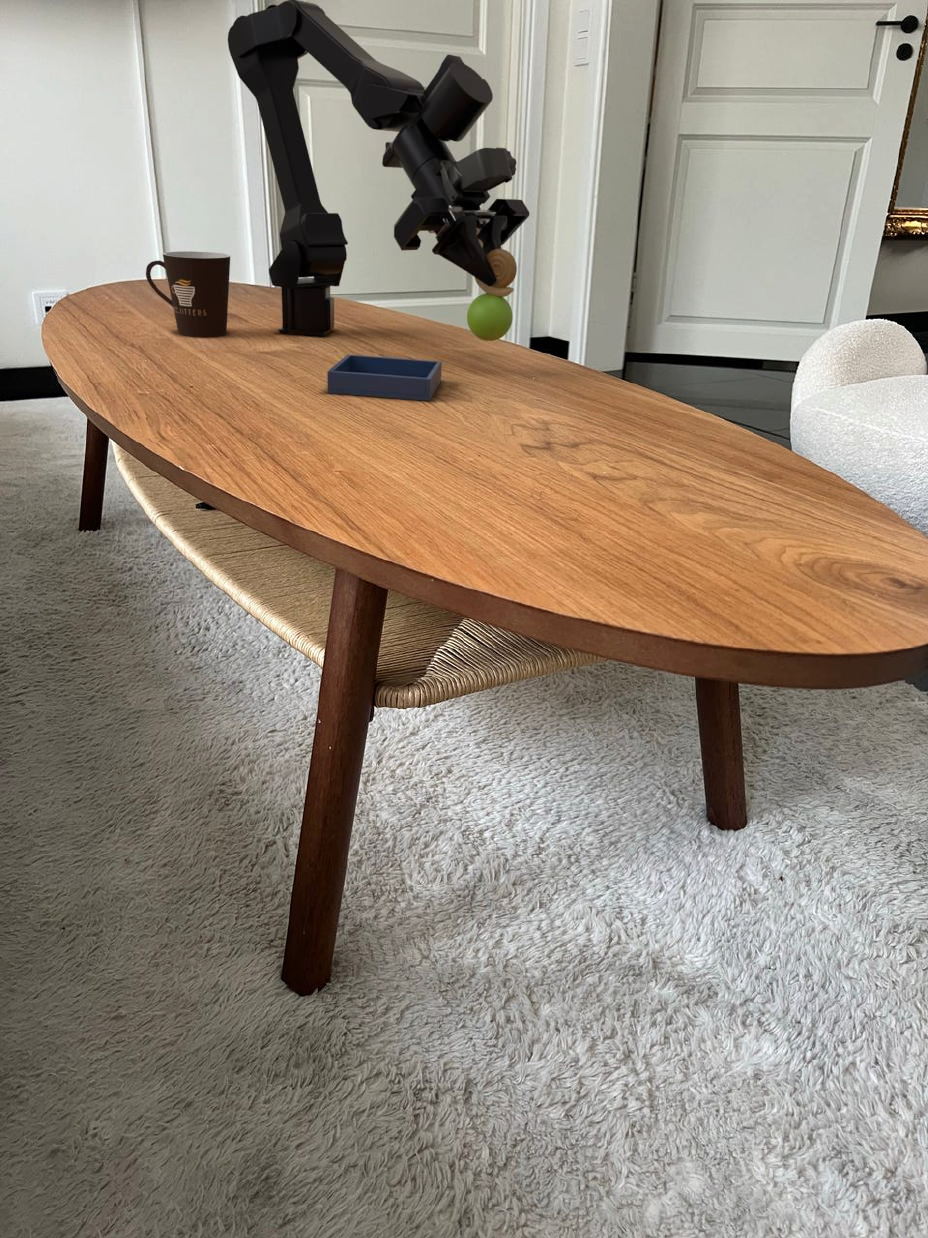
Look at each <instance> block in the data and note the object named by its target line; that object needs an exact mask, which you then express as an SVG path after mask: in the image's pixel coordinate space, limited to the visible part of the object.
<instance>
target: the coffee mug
mask: <svg viewBox="0 0 928 1238" xmlns="http://www.w3.org/2000/svg"><path fill="white" fill-rule="evenodd" d="M162 258H163V261H162V260H152V261H151V262H149V263H148V264H147V265H146V269H145V276H146V280H147V283H148V284H149V286H150V287H151V289H152V290H153V291H154V292H155V293H156V295H158V296H159V297H160V298H161V299H162V300H163V301H165V302H166V303H167V304H168V305H169V306H171V307H172V308H173V314H174V319H175V323H176V328H177V329H176V330H177V334H179V335H181V336H185V337H193V338H194V337H195V338H213V337H214V338H215V337H222V336H225V335H227V332H228V331H227V330H228V329H227V328H228V311H229V292H230V291H229V289H230V273H231V255H230V254H227V253H221V252H214V251H213V252H212V251H211V252H210V251H196V250H195V251H193V250H191V251H190V250H189V251H187V250H183V251H181V250H180V251H178V250H177V251H166V252H163V253H162ZM155 266H161V267H162V268H164V269H165V273H166V277H167V283H168V288H169V293H170V297H168V296H167V295H166V294H165V293H164V292H162V291H161V290H160V289H159V288H158V287H157V285H156V284H155V283H154V281H153V280H152V275H151V272H152V269H153V268H154V267H155Z"/></svg>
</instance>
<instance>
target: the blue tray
mask: <svg viewBox="0 0 928 1238" xmlns="http://www.w3.org/2000/svg"><path fill="white" fill-rule="evenodd" d="M442 365H443V363H442V361H437V360H428V359H427V360H426V359H425V360H424V359H413V358H402V357H401V358H399V357H388V356H387V357H385V356H376V355H375V356H373V355H362V354H361V355H360V354H349V353H348V354H347V355H344V357H343V358H341V359H340V360H339V361H338V362H336V364H334V365H333V366H331V368H330V369H328V371H327V375H326V376H327V379H326V380H327V393H328V394H334V395H345V396H346V395H348V396H349V395H350V396H360V397H371V398H372V397H373V398H384V399H385V398H386V399H396V400H397V399H398V400H407V401H408V400H410V401H422V402H430V401H431V400H432V398H433V396H434V394H435V393H436V391H437V389H438V388H439V386H440V384H441V382H442V368H443V367H442Z"/></svg>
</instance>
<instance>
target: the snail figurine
mask: <svg viewBox="0 0 928 1238" xmlns="http://www.w3.org/2000/svg"><path fill="white" fill-rule="evenodd" d="M479 231H480V230H479V228H477V233H479ZM477 233H476V234H477ZM478 241H479V243H480V245H481V247H482V249H483V243H482V241H481V240H480V239H478ZM486 257H487V259H488V261H489V263H490V266H491V268H492V270H493V272H494V275H495V277H496V283H495V284H494V285H493V286H488V285H486V284H485V283H483V282H481V281H480V280H478V279H477V278H475V277H474V280H475V283H476V284H477V286H478V287H479V288H480V289H481V290H482V291H483V292H484V293H482V294H480V295H478V296H477V297H475V298H474V299H473V300H472V301H471V303H470V305H469V306H468V309H467V314H466V321H467V325H468V328H469V330H470V331H471V333H472V334H473V335H474V336H475V337H476V338H478V339H480V340H482V341H486V342H492V341H493V342H494V341H497V340H500V339H501V338H503V337H504V336H505V335H507V333H508V332H509V331H510V329H511V327H512V323H513V318H514V317H513V310H512V307H511V304H510V303H509V302H508V300H507V299H506V297H508V296H509V295H511V294H512V293H513V292H514V290H515V288H513V287H511V286H510V285H511V284H512V283H513V282H514V281H515V279H516V277H517V272H518V266H517V261H516V259H515V257H514V255H512V253H511V252H509V251H508V250H506V249H504V248H501V249H494V250H492V251H490V252H489V253H488V254H487V255H486Z"/></svg>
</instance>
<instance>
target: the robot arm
mask: <svg viewBox="0 0 928 1238" xmlns="http://www.w3.org/2000/svg"><path fill="white" fill-rule="evenodd" d="M227 46H228V51H229V55H230V57H231V60H232V63H233V65H234V68H235V70H236V73H237V76H238V78H239V79H240V80H241V82H242V83H243V84H244V85H245V87H246V88H247V89H248V90H249V92H250V93H251V94H252V95H253V97H254V98H255V101H256V103H257V107H258V111H259V115H260V119H261V122H262V126H263V131H264V134H265V138H266V142H267V146H268V151H269V153H270V158H271V162H272V166H273V169H274V173H275V177H276V181H277V184H278V188H279V189H278V190H279V193H280V197H281V200H282V205H283V208H284V216H283V218H282V219H283V220H282V224H281V226H280V230H279V241H280V246H281V247H280V248H281V249H280V251H279V253H278V254H277V256H276V258H275V259H274V260H273V262H272V264H271V265H270V267H269V268H268V274H269V278H270V282H271V285H272V287H273V286H274V287H278V288H281V289H280V290H281V291H280V292H281V315H282V316H281V319H282V326H281V327H280V328H279V329H278V333H282V334H295V335H307V336H318V337H319V336H321V337H324V336H326V335H327V334H329V333H331V332H332V331H333V330H334V329H335V298H334V297H332V296H331V287H339V286H340V284H341V280H342V275H343V273H344V268H345V263H346V261H347V257H348V253H347V248H346V246H348V244H349V242H348V240H347V238H346V236H345V233H344V228H343V221H342V218H341V216H340V214H339V213H338V212H329V211H328V210H326V208H325V207H324V206H323V204H322V201H321V199H320V193H319V189H318V185H317V182H316V178H315V174H314V170H313V166H312V162H311V158H310V153H309V150H308V146H307V141H306V137H305V134H304V130H303V125H302V122H301V117H300V114H299V113H300V112H299V109H298V105H297V101H296V97H295V92H294V89H295V85H296V81H297V77H298V74H299V70H300V66H299V65H300V64H299V59H301V58H303V57H304V56H306V55H308V54H309V55H310V56H311V57H313V59H315V61H317V62H318V63H319V64H320V65H321V66H322V67H323V68H324V69H325V70H326V71H327V72H328V73H330V75H332V77H334V78H335V79H336V80H337V81H338V82H339V83H340V84H342V86H343V87H345V89H346V90H347V91H348V92H349V95H350V99H351V105H352V106H353V108H354V109H355V111H356V112H357V114H358V115H359V116H360V118H361V119H362V120H363V121H364V123H365V125H367V127H368V128H370V129H372V130H375V131H385V132H393V133H394V132H395V133H397V134H396V136H395V137H394V139H393V140H392V141H386V142H385V144H384V145H385V150H384V153H383V155H382V161H381V165H382V167H383V168H393V169H403V172H404V173H405V175H406V176H407V178H408V180H409V182H410V183H411V185H412V186H413V188H414V191H413V193H412V194H411V195H410V198H411V199H412V200H411V201H410V203H409V204H408V205H407V206H406V208H405V210H403V212H402V213H401V215H400V216H399V218H398V219H397V220H396V221H395V223H394V224H393V238H394V240H395V241H396V243H397V245H398V247H399V249H400V250H401V251H418V250H419V249H420V247H421V243H422V239H421V238H420V236H419V233H420V232H427V233H429V234H435V237H434V238H435V240H436V241H437V242H436V244H435V245H434V246H433V248H432V249H431V252H432V253H433V254H434V255H436V256H437V255H438V256H439V257H441V258H443V259H445V260H446V261H449V263H452V264H454V265H455V266H457V267H458V268H459V269H461V270H463V271H464V272H466V273H467V274H469V275H471V276H472V277H473V278H474V279H475V278H477V279H478V280H480V281H481V282H483V283H485V284H486V285H488V286H493V285H494V284H495V283H496V277H495V275H494V272H493V270H492V268H491V266H490V263H489V261H488V259H487V257H486V255H487V254H488V253H489V252H490V251H492V250H494V249H502V246H503V245H505V244H506V243H507V241H509V239H510V238H511V237H512V236H513V235H514V233H516V231H518V229H519V228H520V227H521V226H522V225H523V223H525V221H526V220H527V219H528V218H529V217H530V211H529V209H528V207H527V206H526V204H525V202H524V201H523V199H518V198H517V199H516V198H495V200H494V201H493V203H492V204H490V206H489V207H488V208H487V209H482V208H481V206H482V204H484V205H485V204H486V202H487V201H488V200H489V199H490V198H491V195H490V193H489V191H491V190H492V189H495V188H496V187H498V186H500V185H501V184H504V183H505V184H508V183H509V182H511V181H512V180H513V179H514V178H513V177H514V176H515V174H516V172H517V167H516V166H517V159H516V158H514V157H513V155H512V153H511V151H510V150H508V149H507V147H483V148H479V149H476V150H475V151H473V152H471V153H470V154H468V155H467V156H465V157H463V158H461V159H460V160H458V161H456V158H455V157H454V154H453V153H452V152H451V150H450V148H449V147H448V145H447V142H451V141H452V142H455V143H456V142H457V143H458V142H462V140H464V139H465V137H466V136H467V135H468V133H469V132H470V131H471V129H472V128H473V127H474V126H475V124H476V123H477V121H478V120H479V119H480V117H481V116H482V115H483V113H484V112H485V111H486V109H487V108H488V107H489V106H490V104H491V103H492V102H493V99H494V95H493V91H492V89H491V86H490V84H489V82H488V81H487V80H486V79H485V78H482V76H481V75H480V74H479V73H477V71H476V70H475V69H473V68H472V67H470V66H469V65H467V64H465V62H464V60H463V59H462V57H461V56H460V55H459V56H458V55H454V54H453V55H452V54H446V56H445V57H444V59H443V60H442V62H441V64H440V65H439V66H440V67H439V68H438V70H437V72H436V73H435V75H434V76H433V78H432V79H431V81H430V82H429V84H427V86H426V88H425V86H424V85H423V84H422V83H421V82H420V81H419V80H417V79H415V78H413V77H412V76H410V75H408V74H406V73H405V72H403V71H400V70H398V69H395V68H393V67H391V66H388V65H386V64H383V63H382V62H380V61H378V60H376V59H375V58H374V57H373V56H372V55H371V54H370V53H369V52H367V51H366V50H365V49H364V47H362V46H361V45H360V44H359V43H357V42H356V41H355V40H354V39H353V38H352V37H351V36H349V35H348V33H346V32H345V30H343V29H342V28H341V27H340V26H339V25H338V24H336V23H335V22H334V21H333V20H332V19H331V18H330V17H329V16H327V14H326V12H325V11H324V10H323V8H321V7H320V6H319V5H318V4H316V3H313V2H309V1H303V0H284V1H282V2H281V3H279V4H277V5H275V6H273V7H270V8H266V9H263V10H258V11H255V12H251V13H249V14H248V15H240V16H238V17H236V19H235V20H234V22H233V23H232V26H230V27H229V30H228V33H227ZM477 228H479V230H480V231H479V233H477ZM476 233H477V234H476ZM478 239H480V240H481V241H482V243H483V249H482V247H481V245H480V243H479V241H478Z"/></svg>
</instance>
